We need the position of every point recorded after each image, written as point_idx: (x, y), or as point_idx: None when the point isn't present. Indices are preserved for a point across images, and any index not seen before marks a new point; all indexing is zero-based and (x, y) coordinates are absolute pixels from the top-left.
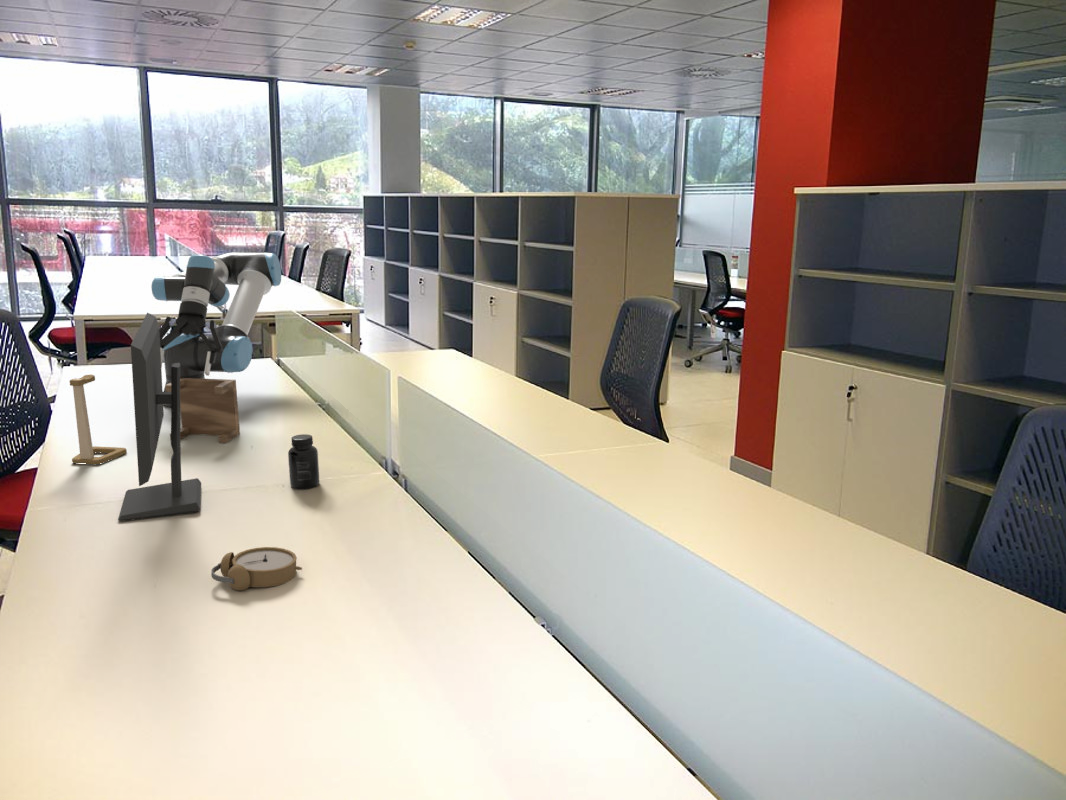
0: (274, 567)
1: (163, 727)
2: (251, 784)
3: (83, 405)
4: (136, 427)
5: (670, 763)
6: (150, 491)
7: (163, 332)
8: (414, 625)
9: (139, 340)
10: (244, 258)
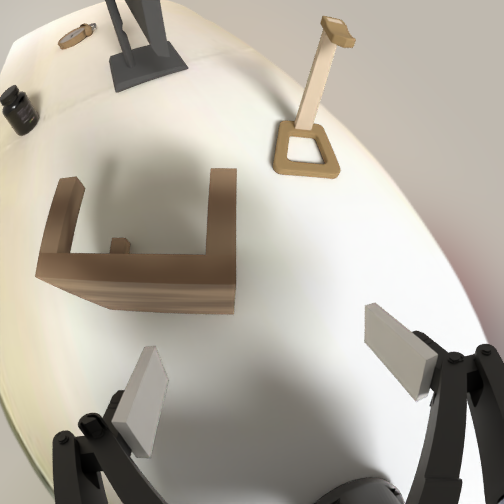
0: (68, 35)
1: None
2: (88, 7)
3: (315, 56)
4: None
5: (13, 43)
6: (158, 63)
7: (497, 432)
8: (33, 46)
9: None
10: None
